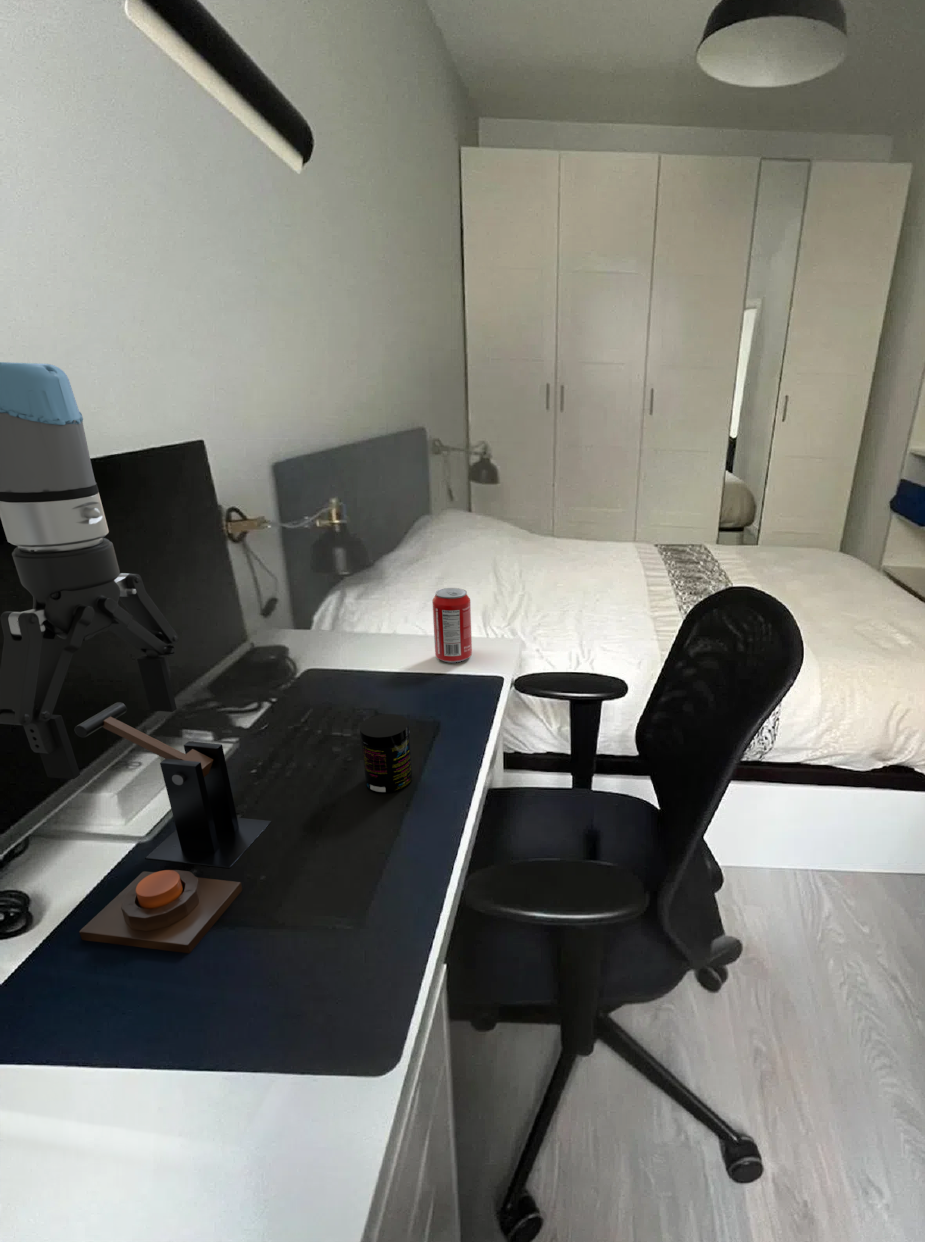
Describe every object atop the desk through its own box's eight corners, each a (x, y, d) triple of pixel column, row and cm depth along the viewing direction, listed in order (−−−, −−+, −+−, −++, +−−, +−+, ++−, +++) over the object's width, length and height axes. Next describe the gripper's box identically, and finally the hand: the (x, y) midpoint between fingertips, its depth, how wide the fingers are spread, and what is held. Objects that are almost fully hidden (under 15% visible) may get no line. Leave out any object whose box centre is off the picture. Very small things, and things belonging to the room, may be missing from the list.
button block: (84, 947, 67) (73, 918, 66) (147, 885, 76) (139, 858, 74) (191, 961, 66) (184, 931, 65) (244, 896, 75) (238, 869, 73)
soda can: (446, 668, 135) (443, 600, 129) (428, 656, 141) (425, 590, 135) (478, 659, 140) (477, 593, 134) (460, 648, 145) (458, 584, 140)
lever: (72, 736, 74) (75, 720, 73) (113, 711, 80) (117, 697, 79) (186, 792, 76) (191, 778, 75) (218, 765, 81) (223, 751, 80)
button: (129, 907, 68) (126, 894, 67) (157, 880, 72) (153, 867, 71) (165, 911, 68) (161, 898, 67) (191, 884, 71) (187, 871, 71)
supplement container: (420, 776, 98) (416, 716, 94) (403, 802, 92) (397, 739, 88) (378, 771, 99) (372, 711, 95) (358, 797, 93) (350, 734, 89)
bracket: (146, 865, 79) (119, 769, 73) (195, 819, 87) (175, 730, 82) (231, 875, 78) (210, 778, 72) (273, 828, 86) (257, 738, 81)
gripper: (-33, 582, 48) (49, 815, 56) (189, 518, 71) (224, 690, 79) (-124, 576, 49) (-30, 808, 57) (125, 515, 72) (167, 686, 80)
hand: (118, 740), depth 68 cm, fingers open, 13 cm apart
